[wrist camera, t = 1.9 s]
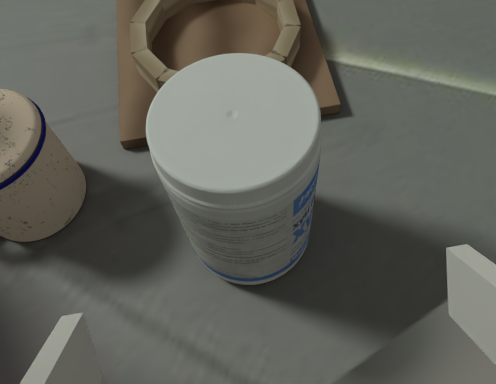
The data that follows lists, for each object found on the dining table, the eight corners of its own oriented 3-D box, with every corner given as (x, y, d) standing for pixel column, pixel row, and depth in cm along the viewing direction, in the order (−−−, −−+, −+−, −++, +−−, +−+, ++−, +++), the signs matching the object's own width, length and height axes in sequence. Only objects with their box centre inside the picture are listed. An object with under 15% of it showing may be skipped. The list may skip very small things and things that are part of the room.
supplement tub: (321, 276, 33) (347, 180, 21) (198, 298, 33) (146, 215, 20) (294, 169, 38) (302, 36, 25) (186, 188, 38) (138, 63, 25)
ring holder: (124, 149, 40) (110, 124, 37) (119, 4, 50) (108, -26, 46) (339, 112, 41) (344, 85, 37) (293, -25, 50) (294, -56, 47)
